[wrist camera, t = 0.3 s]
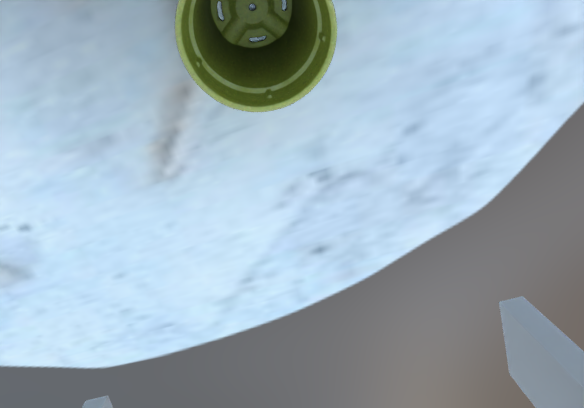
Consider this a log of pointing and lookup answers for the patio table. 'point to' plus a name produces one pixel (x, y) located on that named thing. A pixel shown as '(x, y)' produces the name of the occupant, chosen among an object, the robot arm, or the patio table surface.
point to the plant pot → (256, 49)
